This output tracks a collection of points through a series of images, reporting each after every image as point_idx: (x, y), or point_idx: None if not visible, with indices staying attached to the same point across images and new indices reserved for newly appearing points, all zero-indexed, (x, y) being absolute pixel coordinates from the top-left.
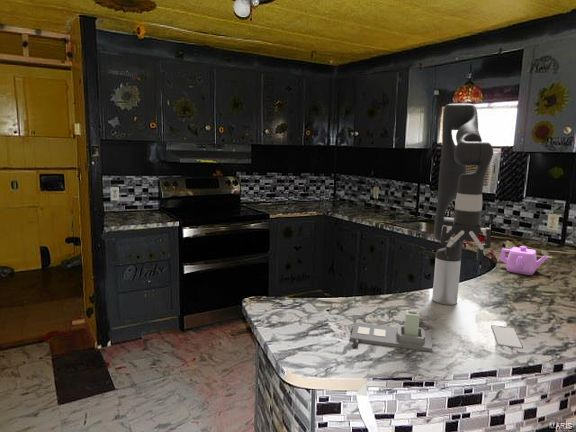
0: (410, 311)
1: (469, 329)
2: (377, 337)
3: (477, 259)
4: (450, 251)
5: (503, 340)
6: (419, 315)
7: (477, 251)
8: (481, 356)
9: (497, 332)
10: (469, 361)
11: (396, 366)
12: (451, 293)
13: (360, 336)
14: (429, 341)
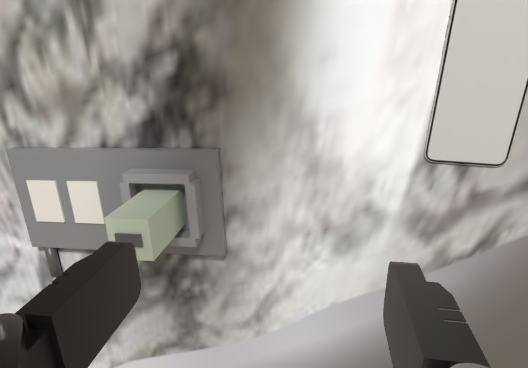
0: (121, 236)
1: (356, 58)
2: (88, 230)
3: (385, 323)
4: (95, 351)
5: (456, 126)
6: (153, 257)
7: (408, 342)
8: (351, 247)
9: (458, 59)
10: (314, 278)
11: (156, 329)
12: None
13: (50, 234)
14: (216, 218)
